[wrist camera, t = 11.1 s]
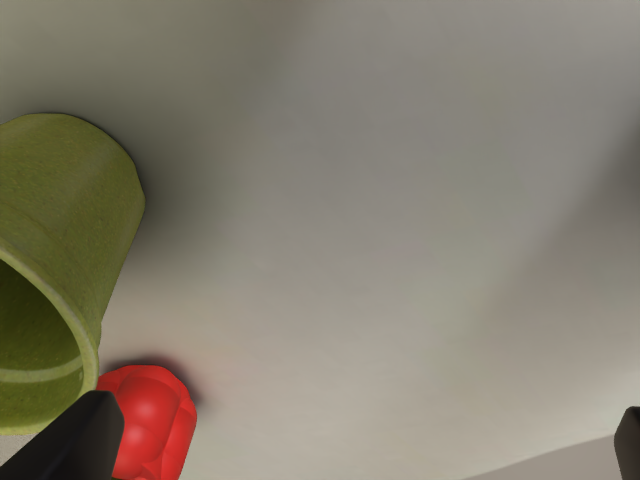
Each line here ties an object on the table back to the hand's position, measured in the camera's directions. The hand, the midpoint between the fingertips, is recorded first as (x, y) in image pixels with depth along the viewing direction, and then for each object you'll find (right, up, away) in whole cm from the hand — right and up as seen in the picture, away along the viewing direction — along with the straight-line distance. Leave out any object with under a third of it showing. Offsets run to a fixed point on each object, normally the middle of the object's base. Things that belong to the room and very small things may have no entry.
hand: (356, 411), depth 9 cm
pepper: (-10, -5, +19) cm, 23 cm away
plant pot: (-11, +6, +12) cm, 17 cm away
